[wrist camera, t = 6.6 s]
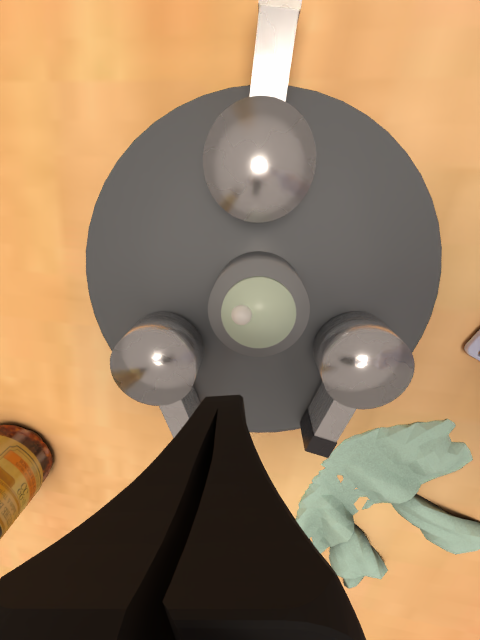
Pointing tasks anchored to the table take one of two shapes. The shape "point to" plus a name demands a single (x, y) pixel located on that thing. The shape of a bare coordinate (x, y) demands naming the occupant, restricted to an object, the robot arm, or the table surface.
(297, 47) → the table surface
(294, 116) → the silver metal rounded piece
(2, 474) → the sauce bottle
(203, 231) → the tribrach plate
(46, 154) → the table surface
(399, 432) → the cloth
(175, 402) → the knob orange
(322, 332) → the knob black
